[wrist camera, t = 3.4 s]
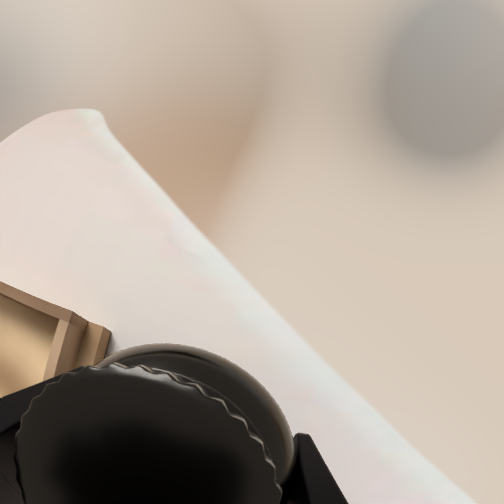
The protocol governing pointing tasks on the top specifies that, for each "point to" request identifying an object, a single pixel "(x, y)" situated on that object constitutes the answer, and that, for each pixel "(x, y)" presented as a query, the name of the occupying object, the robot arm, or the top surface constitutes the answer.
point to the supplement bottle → (155, 434)
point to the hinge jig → (43, 340)
